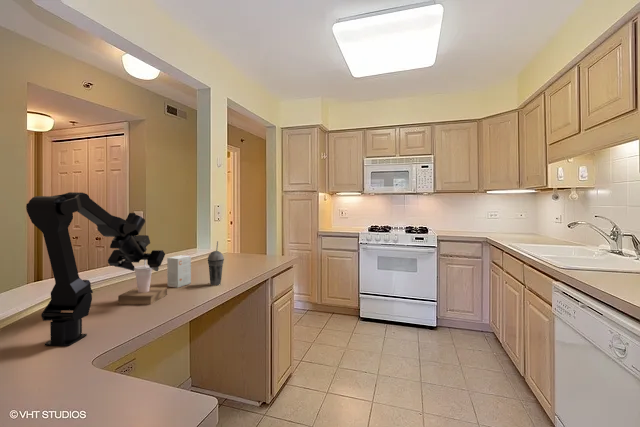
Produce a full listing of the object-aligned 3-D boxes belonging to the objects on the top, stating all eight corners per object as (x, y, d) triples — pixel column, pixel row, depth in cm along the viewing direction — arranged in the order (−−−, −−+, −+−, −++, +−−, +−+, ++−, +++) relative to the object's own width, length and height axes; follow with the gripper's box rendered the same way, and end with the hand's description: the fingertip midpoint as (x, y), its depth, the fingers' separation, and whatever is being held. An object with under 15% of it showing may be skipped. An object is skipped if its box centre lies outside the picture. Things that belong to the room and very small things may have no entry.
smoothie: (150, 293, 115) (150, 256, 115) (131, 294, 113) (131, 257, 113) (154, 288, 121) (154, 254, 121) (136, 289, 119) (136, 254, 119)
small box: (180, 282, 143) (180, 254, 143) (191, 283, 141) (191, 255, 141) (166, 286, 136) (166, 257, 135) (177, 287, 134) (177, 258, 133)
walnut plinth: (150, 304, 112) (150, 296, 111) (118, 303, 112) (118, 295, 111) (167, 294, 124) (167, 287, 123) (137, 294, 124) (137, 286, 123)
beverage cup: (203, 285, 138) (204, 242, 138) (213, 281, 145) (214, 240, 145) (217, 287, 136) (217, 243, 135) (226, 283, 143) (227, 241, 142)
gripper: (162, 229, 113) (176, 253, 124) (112, 228, 113) (131, 252, 124) (151, 253, 105) (166, 277, 117) (97, 252, 105) (118, 276, 116)
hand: (145, 270), depth 119 cm, fingers open, 9 cm apart
